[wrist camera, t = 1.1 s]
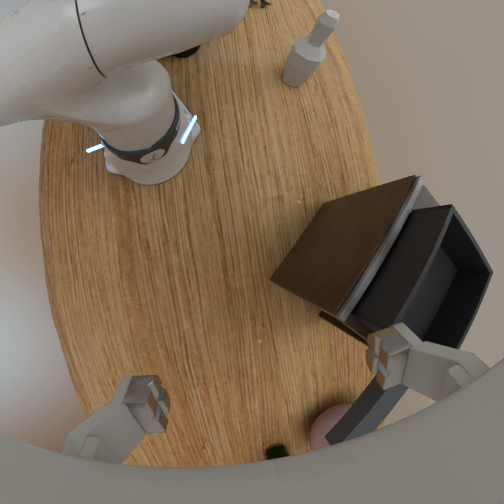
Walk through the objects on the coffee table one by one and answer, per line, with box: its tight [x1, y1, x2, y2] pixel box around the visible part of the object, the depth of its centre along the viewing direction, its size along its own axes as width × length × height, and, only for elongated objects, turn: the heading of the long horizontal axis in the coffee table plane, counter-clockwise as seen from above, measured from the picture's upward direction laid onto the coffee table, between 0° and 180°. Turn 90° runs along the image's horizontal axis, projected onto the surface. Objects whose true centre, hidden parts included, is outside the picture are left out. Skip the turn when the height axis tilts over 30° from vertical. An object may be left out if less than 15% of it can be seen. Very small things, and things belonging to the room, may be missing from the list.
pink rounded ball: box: [309, 403, 378, 451], centre depth 46 cm, size 15×15×15 cm
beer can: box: [265, 445, 290, 460], centre depth 46 cm, size 5×5×12 cm
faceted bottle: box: [283, 9, 340, 87], centre depth 39 cm, size 6×6×22 cm
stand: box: [270, 175, 440, 347], centre depth 39 cm, size 18×14×27 cm
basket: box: [324, 204, 493, 446], centre depth 23 cm, size 24×11×6 cm, turn 143°
